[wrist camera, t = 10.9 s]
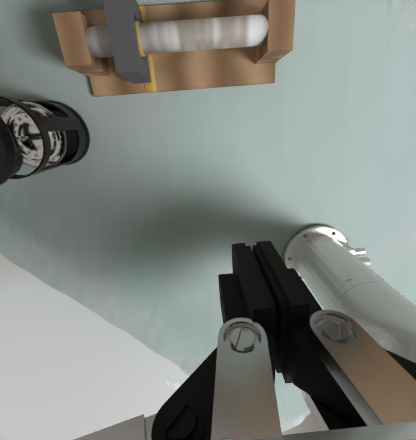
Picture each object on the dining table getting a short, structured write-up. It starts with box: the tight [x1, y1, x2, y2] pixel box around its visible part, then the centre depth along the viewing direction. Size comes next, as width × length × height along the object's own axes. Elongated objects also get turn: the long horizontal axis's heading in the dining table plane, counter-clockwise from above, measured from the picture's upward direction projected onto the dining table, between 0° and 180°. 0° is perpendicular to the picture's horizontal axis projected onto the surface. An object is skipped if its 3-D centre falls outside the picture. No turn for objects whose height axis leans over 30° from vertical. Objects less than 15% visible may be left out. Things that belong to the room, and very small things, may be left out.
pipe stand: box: [52, 0, 295, 97], centre depth 31 cm, size 27×10×8 cm, turn 94°
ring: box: [103, 0, 152, 84], centre depth 28 cm, size 2×8×8 cm, turn 4°
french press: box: [0, 96, 90, 185], centre depth 27 cm, size 12×9×23 cm
